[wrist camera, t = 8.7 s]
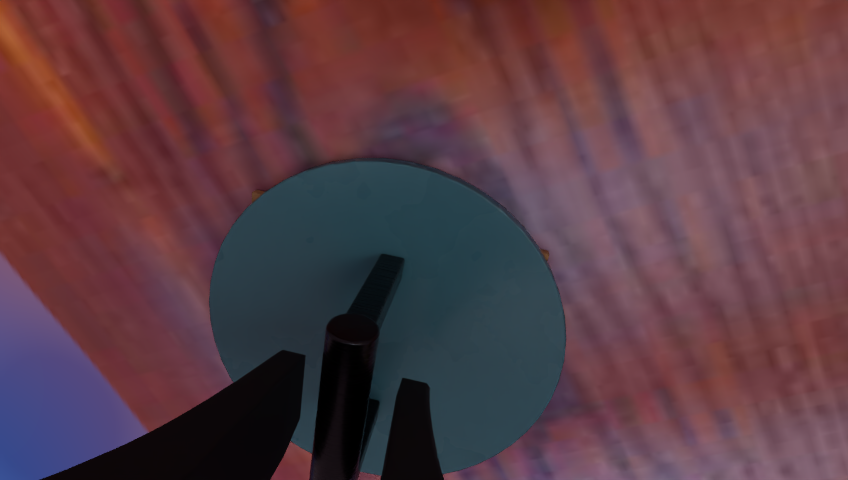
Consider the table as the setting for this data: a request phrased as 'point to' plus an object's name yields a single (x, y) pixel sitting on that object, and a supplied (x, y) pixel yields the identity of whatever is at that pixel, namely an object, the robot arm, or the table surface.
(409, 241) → the tin lid
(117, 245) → the table surface
